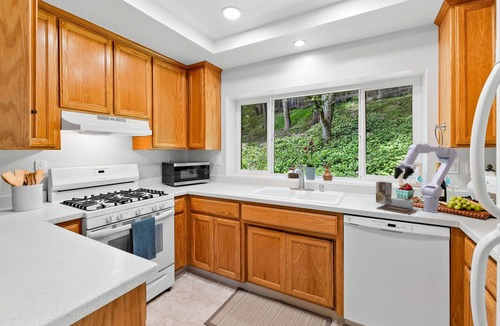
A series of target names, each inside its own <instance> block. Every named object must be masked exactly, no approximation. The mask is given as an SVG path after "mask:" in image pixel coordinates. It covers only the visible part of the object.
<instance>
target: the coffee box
mask: <svg viewBox="0 0 500 326" xmlns="http://www.w3.org/2000/svg"><path fill="white" fill-rule="evenodd" d="M392 186H393V183H392V182H387V181H376V182H375V202H376V203H378V204H382V205H386V204H388V205H392Z"/></svg>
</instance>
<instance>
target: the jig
mask: <svg viewBox="0 0 500 326" xmlns="http://www.w3.org/2000/svg"><path fill="white" fill-rule="evenodd" d="M376 209H377V210H382V211H388V212H392V213H396V214H404V215H407V214H408V215H411V213H412V214H414V213H416V212H417V210H416V209H414V208H413V209H412V208H406V207H400V206H394V205H392V204H382V205H380V206H378V207H376Z"/></svg>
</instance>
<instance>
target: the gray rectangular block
mask: <svg viewBox="0 0 500 326" xmlns="http://www.w3.org/2000/svg"><path fill="white" fill-rule="evenodd" d="M391 205H394V206H400V207H406V208H412V209H413V210H414V200H412V199H409V198H405V199H404V198H399V197H393V198H391Z"/></svg>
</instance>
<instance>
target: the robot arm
mask: <svg viewBox="0 0 500 326" xmlns="http://www.w3.org/2000/svg"><path fill="white" fill-rule="evenodd" d="M431 152H433V153H434V154H435V156H436V157H437V159H438V161H439V162H440V166H439V167H438V169H437V171H436V173H435V175H434V176H433V178H432V180H431V181H430V182H428V183H426V184H425V185H424V186H423V187H422V188H421V191H420V192H421V195H422V196H423V198H424V200H423V201H424V202H423V208H422V209H421V211H424V212H430V213H438V212H439V211H438V210H437V209H438V208H440V207H439V206H440V205H439V204H440V201H439V199H440V197H441V196H442V192H443V188H442V186H441V185H442V184H443V182H444V180H445V178H446V177H447V174H448V173H449V171H450V169H451V167H452V166H453V163H454V162H455V160H456V158H457V156H458V152H457V150H456V149H455V148H454V147H453V148H451V147H446V146H445V147H444V146H431V145H430V144H428V143H423V144H422V143H412V144H410V145H408V147H407V153H406V155H405V157H404V159H403V160H402V163H399V165H396V167H394V176H393V178H394V179H395V180H398V179H399V178H400V176H401V174H402V173H403V175H402V179H403V180H404V181H406V180H407V179H408V178H409V177H410V176H411V175H413V174H414V173H415V172H416V171H415V170H416V169H417V167H416V166H415V165H414V163H415V161H416V160H417V158H418V156H419V154H429V153H431Z"/></svg>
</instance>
